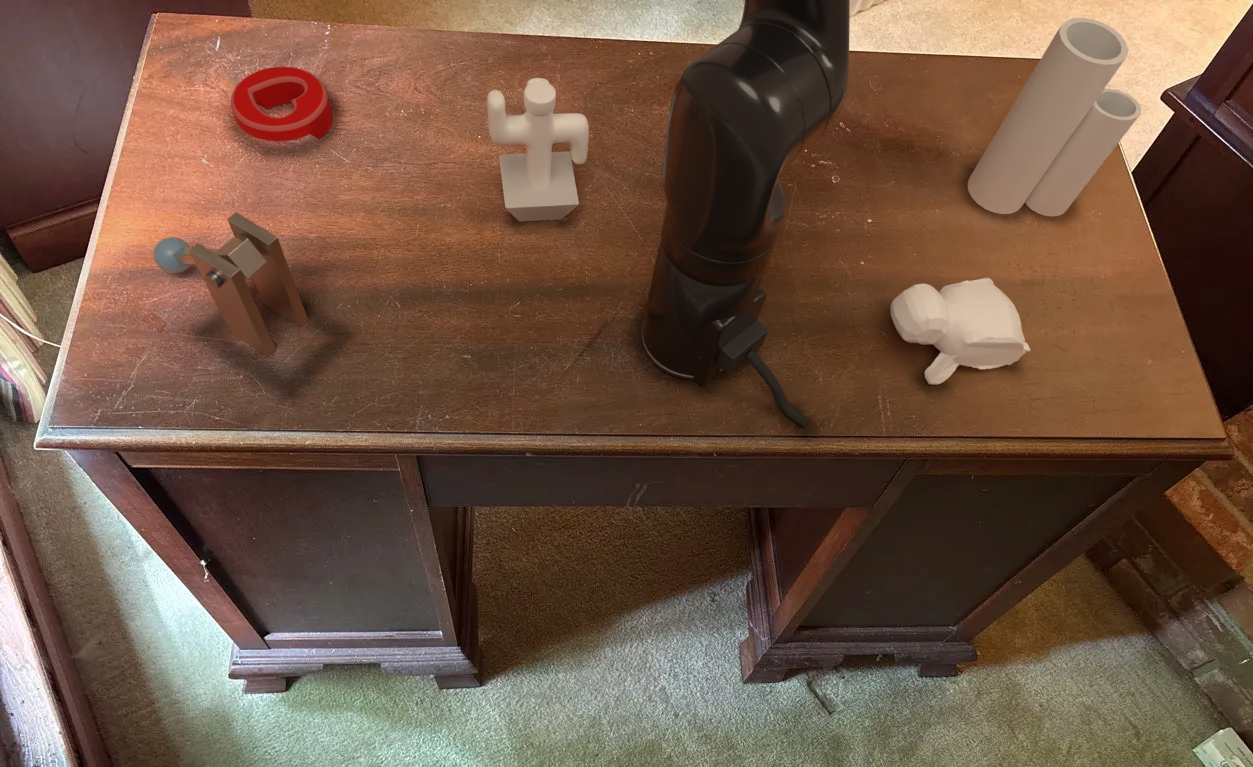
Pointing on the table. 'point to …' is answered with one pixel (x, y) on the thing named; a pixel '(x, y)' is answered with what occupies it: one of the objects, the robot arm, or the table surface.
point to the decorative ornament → (280, 89)
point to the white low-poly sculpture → (960, 325)
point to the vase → (1058, 124)
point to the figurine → (538, 153)
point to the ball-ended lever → (236, 251)
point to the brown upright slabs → (236, 295)
